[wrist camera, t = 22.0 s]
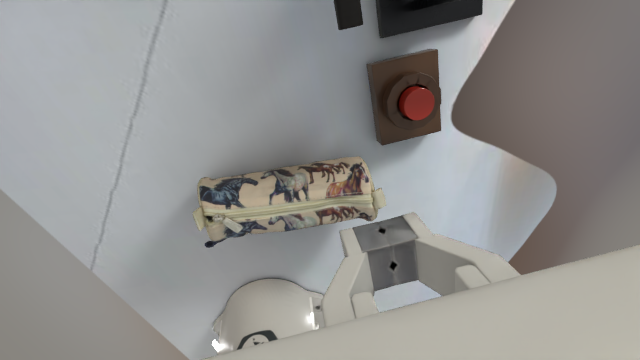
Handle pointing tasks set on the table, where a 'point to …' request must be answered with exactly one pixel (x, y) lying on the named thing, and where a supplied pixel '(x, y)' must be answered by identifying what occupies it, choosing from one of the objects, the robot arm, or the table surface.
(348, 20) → the lever
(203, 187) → the pencil case
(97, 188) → the table surface
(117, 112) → the table surface
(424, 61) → the control block
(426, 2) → the bracket
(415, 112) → the button
